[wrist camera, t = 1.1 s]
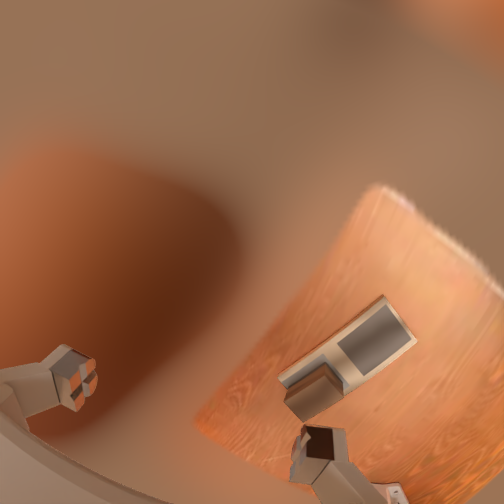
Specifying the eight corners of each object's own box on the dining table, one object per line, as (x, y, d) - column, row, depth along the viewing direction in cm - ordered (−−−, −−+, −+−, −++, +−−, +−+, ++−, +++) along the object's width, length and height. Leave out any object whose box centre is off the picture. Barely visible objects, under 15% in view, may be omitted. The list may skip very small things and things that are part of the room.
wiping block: (342, 382, 41) (343, 397, 37) (306, 405, 43) (303, 422, 38) (325, 361, 42) (324, 375, 37) (288, 386, 43) (283, 401, 39)
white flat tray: (415, 338, 40) (417, 341, 38) (312, 411, 44) (312, 416, 43) (382, 294, 41) (384, 296, 40) (278, 373, 45) (276, 377, 44)
